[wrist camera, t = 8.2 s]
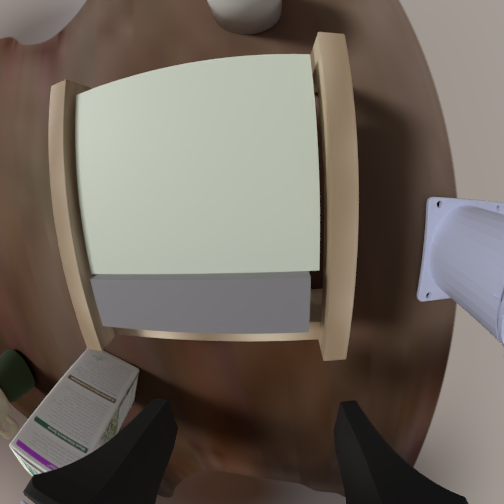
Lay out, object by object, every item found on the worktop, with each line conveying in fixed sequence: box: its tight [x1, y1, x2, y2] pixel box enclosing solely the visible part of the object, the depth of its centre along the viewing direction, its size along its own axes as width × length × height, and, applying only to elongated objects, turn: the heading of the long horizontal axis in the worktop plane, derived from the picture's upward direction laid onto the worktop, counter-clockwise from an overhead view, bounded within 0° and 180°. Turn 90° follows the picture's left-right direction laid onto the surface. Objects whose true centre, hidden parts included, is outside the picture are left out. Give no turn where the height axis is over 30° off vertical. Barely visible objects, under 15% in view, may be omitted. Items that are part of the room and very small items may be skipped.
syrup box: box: [9, 348, 140, 477], centre depth 16 cm, size 6×6×14 cm
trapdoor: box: [75, 54, 320, 334], centre depth 12 cm, size 13×12×2 cm
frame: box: [49, 32, 359, 361], centre depth 15 cm, size 15×16×7 cm
